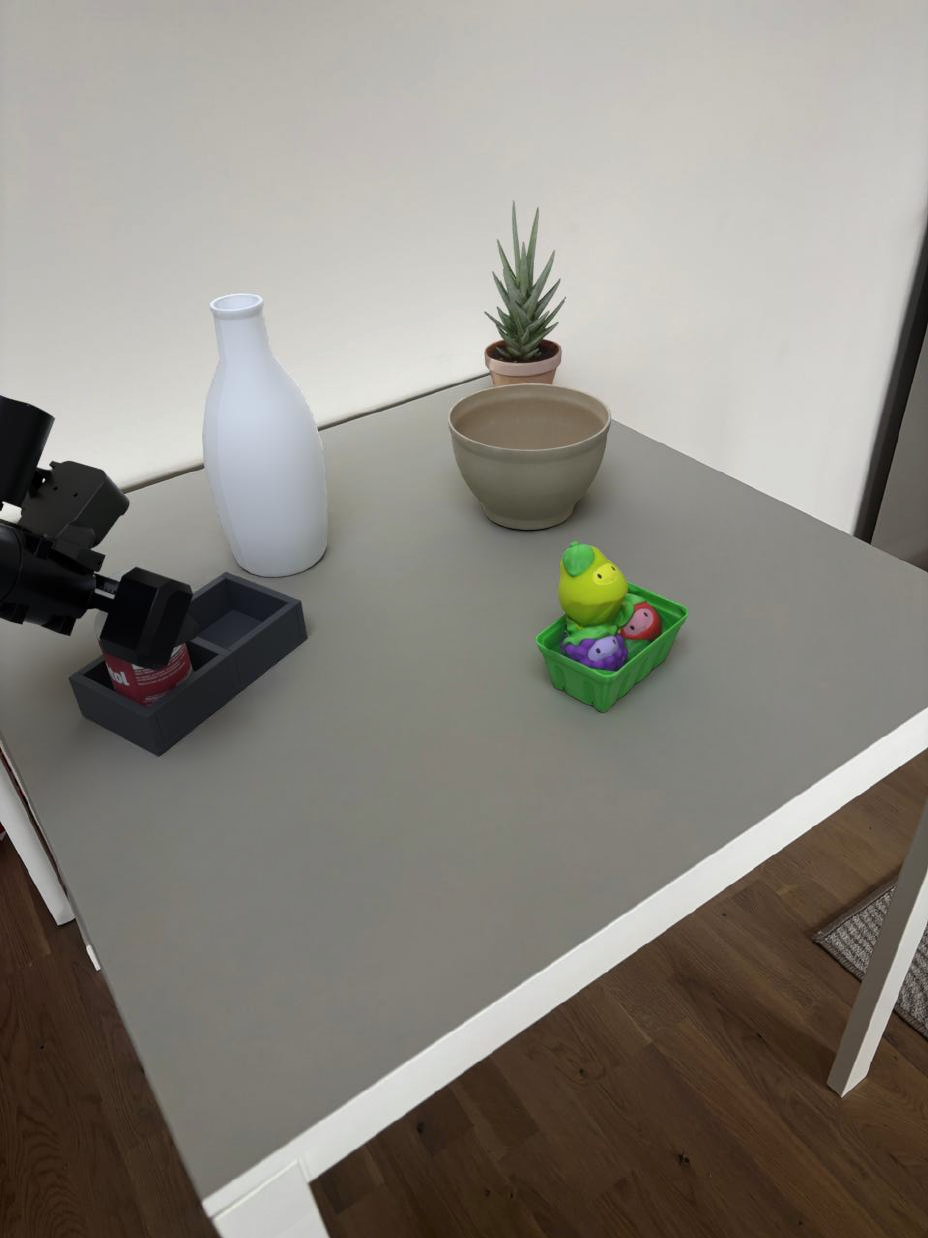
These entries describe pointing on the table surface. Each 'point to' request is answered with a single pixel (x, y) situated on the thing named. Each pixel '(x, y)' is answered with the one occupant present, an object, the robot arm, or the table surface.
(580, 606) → the fruit basket
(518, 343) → the potted plant
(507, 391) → the planter bowl
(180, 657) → the pill bottle
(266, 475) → the bottle
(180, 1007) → the table surface
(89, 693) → the tray
